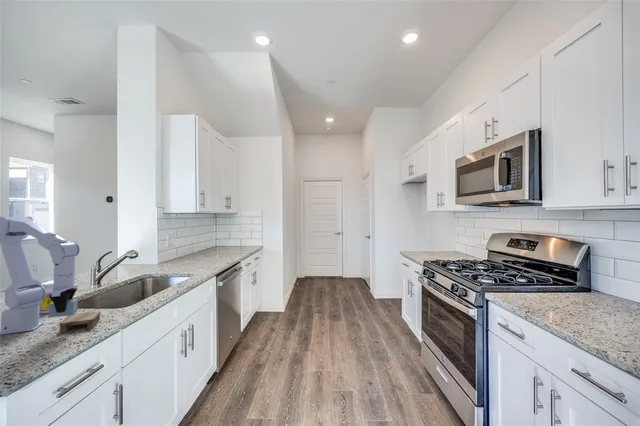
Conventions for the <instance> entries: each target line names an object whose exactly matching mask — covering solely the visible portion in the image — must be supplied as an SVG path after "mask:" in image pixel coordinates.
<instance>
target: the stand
mask: <svg viewBox="0 0 640 426" xmlns="http://www.w3.org/2000/svg"><path fill="white" fill-rule="evenodd" d="M100 315H101V310H96V311H86V312H78V313H77V312H76V313H75V314H74V315H69V316H65V317H64V319H62V320H61V321H60V322H59V333H66V332H68V330H70V328H71V327H72V326H73V325H79V324H86V325H87V327H86V329H87V330H89V329H90V330H91V329H93V328H94V327H95V326H96V324H97V323H98V322H99V321H100V319H101V317H100Z"/></svg>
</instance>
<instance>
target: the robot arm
mask: <svg viewBox="0 0 640 426" xmlns="http://www.w3.org/2000/svg"><path fill="white" fill-rule="evenodd" d="M37 222H38V221H37V219H34V217H32V216H0V248H1V251H2V255H3V257H4V260H5V261H4V262H5V264H6V268H7V271H8V274H9V278H10V280H11V284H10V285H9V286H8V287H7V288H6V289H5V290H4V291H3V292H4V303H5V306H7V307H6V308H4V309H3V311H2V312H1V315H0V335H6V334H7V335H8V334H15V333H21V332H22V333H23V332H30V331H35V330H36V329H37V328H39V327H41V326H42V325H43V324H44V322H45V321H40V313H39V305H40V304H39V303H42V300H43V299H44V298H45V297H46V289H45V288H44V287H43V286H42V285H43V283H42V282H41V281H40V280H39V279H38V280H37V279H34V278H33V277H32V273H31V271H30V268H29V264H28V261H27V259H26V255H25V252H24V249H23V248H24V247H23V245H22V243H21V242H22V241H23V240H24V239H27V237H29V236H31V237H33V238H34V239H36V240H37V243H38V245H39V246H41V247H42V248H44V249H46V250H47V251H48V252H49V255H50V257H51V262H52V264H53V282H54V287H53V291H52V294H51V295H49V298H50V299H51V300H52V301H53V303H54V306H55V309H56V312H57V313H61V312H65V310H66V305H67V301H68V300H69V299H74V296H75V294H76V292H77V291H78V287H79V284H76V281H75V276H76V275H75V274H76V273H75V272H76V271H75V269H76V267H75V266H76V257H77V256H79V253H80V245H79V244H78V243H77V242H76V241H68V240H66V239H65V238H63V237H61V236H59V235H58V233H57V232H51V231H50V232H48V231H46V230H45V229H43V228H42V227H41V226H40V225H39V224H38V223H37Z"/></svg>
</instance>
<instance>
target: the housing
mask: <svg viewBox="0 0 640 426" xmlns="http://www.w3.org/2000/svg"><path fill="white" fill-rule="evenodd" d="M78 301H79V300H78V298H73V299H69V300H68V301H67V305H66V310H65V312H61V313H57V312H56V309H55V306H54V303H53V302H51V303H50V304H49V313H48V318H49V319H50V318H57V317H58V318H60V317H67V316H69V315H74V314H77V312H78V304H79V303H78Z"/></svg>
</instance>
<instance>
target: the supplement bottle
mask: <svg viewBox="0 0 640 426" xmlns="http://www.w3.org/2000/svg"><path fill="white" fill-rule="evenodd" d="M42 286H43V287H44V288H45V289H46V297H45V298H44V299H43V300H42V303H39V304H40V305H39V314H49V304H50V303H51V302H53V301H52V300H51V299H50V298H49V295H51V294H52V291H53V287H54V281H47V282H44V283H42Z"/></svg>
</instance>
